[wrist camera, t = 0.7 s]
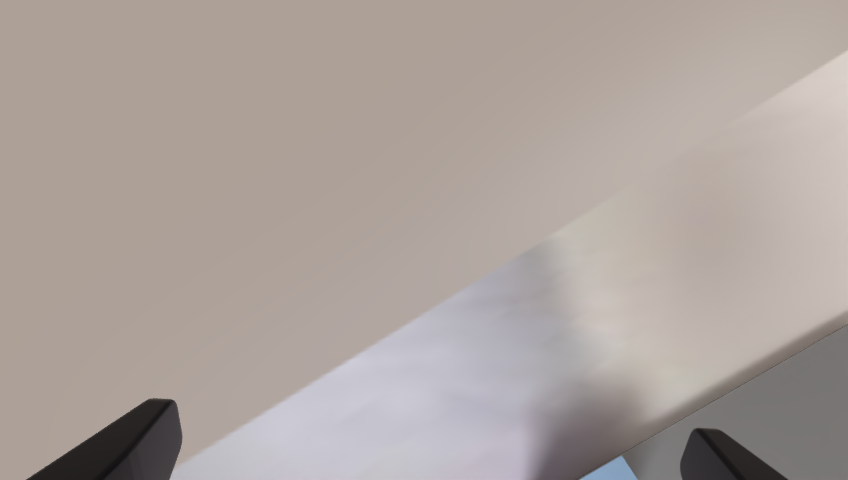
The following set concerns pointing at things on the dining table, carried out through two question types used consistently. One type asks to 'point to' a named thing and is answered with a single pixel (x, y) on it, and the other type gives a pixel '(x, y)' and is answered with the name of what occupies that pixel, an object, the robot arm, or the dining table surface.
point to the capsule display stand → (764, 421)
